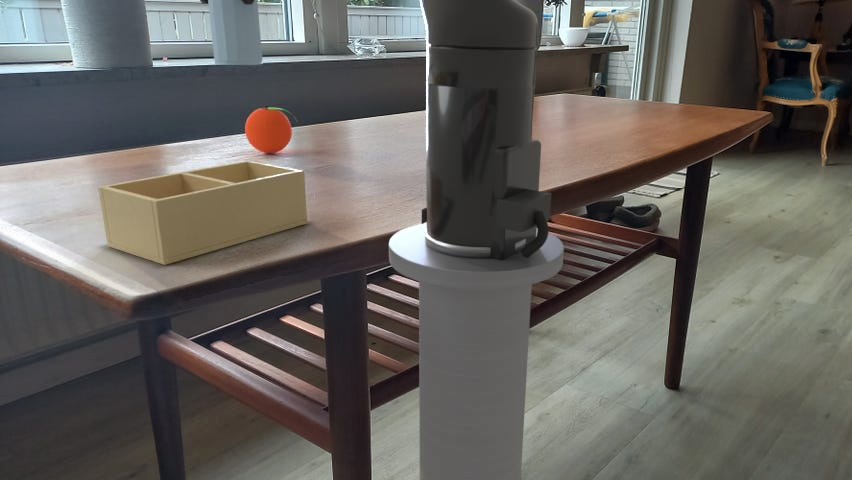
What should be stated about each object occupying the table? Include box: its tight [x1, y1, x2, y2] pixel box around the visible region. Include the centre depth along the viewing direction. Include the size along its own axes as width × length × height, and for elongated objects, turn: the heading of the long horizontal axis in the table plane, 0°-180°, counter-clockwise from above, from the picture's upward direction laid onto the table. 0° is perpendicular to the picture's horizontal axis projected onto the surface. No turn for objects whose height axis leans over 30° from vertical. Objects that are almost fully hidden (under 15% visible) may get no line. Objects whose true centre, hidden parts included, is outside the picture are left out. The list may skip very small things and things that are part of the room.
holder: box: [97, 159, 308, 266], centre depth 65 cm, size 8×16×6 cm, turn 147°
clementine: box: [244, 105, 298, 154], centre depth 106 cm, size 8×7×7 cm
